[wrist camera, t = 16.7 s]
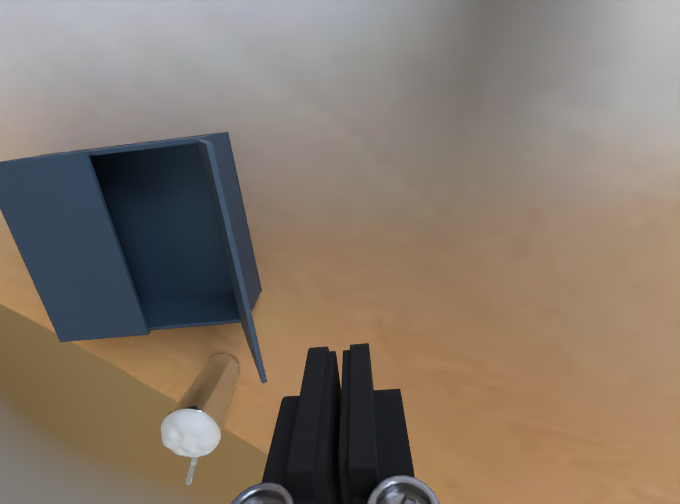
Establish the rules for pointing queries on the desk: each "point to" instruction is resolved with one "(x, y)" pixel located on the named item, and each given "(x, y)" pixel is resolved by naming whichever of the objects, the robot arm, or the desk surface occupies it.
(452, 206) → the desk surface
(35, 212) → the carton
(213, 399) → the milkshake
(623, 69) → the desk surface
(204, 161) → the flap
